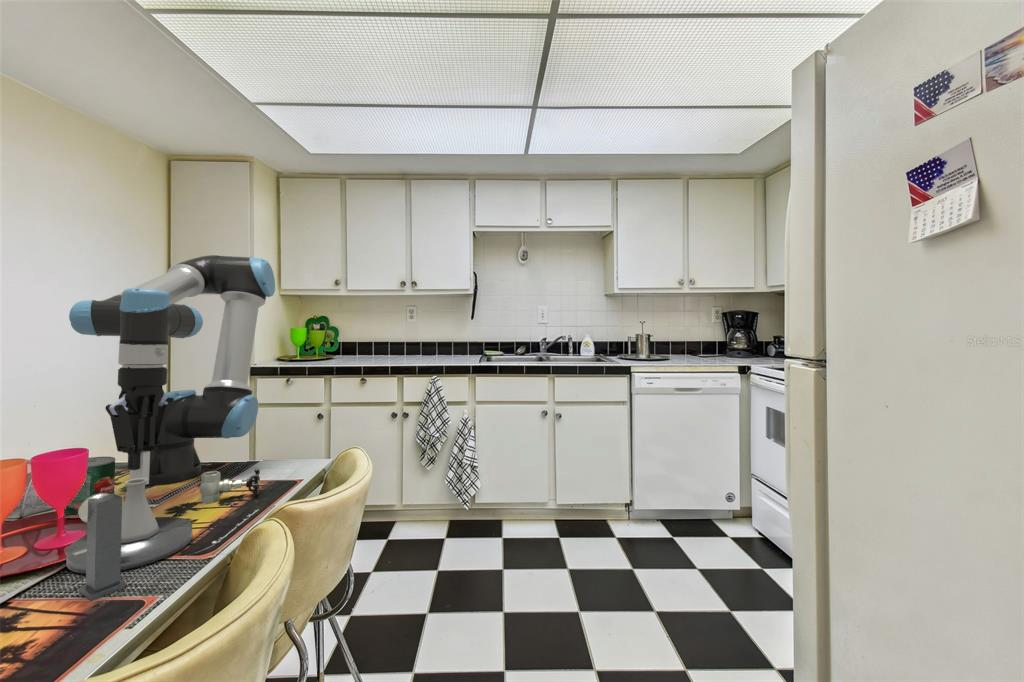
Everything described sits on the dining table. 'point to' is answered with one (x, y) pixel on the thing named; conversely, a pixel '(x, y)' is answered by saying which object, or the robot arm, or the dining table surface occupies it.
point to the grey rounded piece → (139, 545)
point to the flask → (137, 513)
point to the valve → (224, 485)
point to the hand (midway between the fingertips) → (139, 484)
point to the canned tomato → (94, 482)
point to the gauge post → (102, 544)
